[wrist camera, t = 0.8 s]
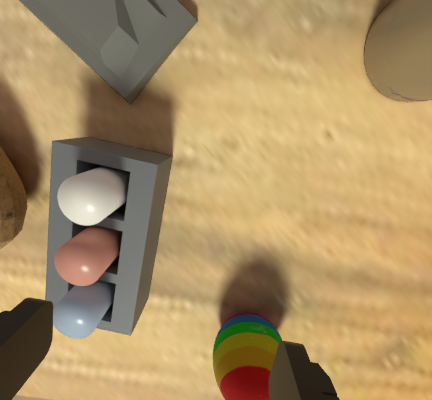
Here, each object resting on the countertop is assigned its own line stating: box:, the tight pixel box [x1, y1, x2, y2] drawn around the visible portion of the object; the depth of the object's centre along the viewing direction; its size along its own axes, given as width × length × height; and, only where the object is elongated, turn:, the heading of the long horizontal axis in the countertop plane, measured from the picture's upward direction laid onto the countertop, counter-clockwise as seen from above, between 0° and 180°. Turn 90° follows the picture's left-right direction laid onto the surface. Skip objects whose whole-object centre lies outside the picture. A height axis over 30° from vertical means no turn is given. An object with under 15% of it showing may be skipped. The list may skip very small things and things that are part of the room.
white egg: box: [57, 166, 130, 226], centre depth 23 cm, size 4×4×6 cm
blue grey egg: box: [53, 280, 116, 338], centre depth 27 cm, size 4×4×6 cm
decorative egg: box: [213, 313, 282, 400], centre depth 29 cm, size 8×8×10 cm
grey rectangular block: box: [45, 137, 173, 336], centre depth 28 cm, size 18×9×6 cm, turn 168°
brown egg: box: [54, 225, 123, 286], centre depth 25 cm, size 4×4×6 cm
